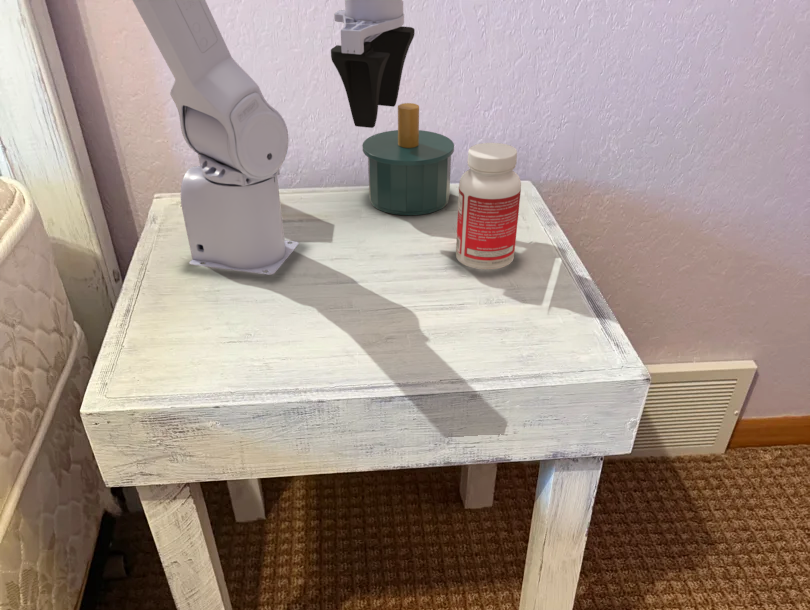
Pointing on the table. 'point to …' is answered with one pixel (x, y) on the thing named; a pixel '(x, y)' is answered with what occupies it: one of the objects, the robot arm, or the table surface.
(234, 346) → the table surface
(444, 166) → the tin
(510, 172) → the pill bottle
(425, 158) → the lid
